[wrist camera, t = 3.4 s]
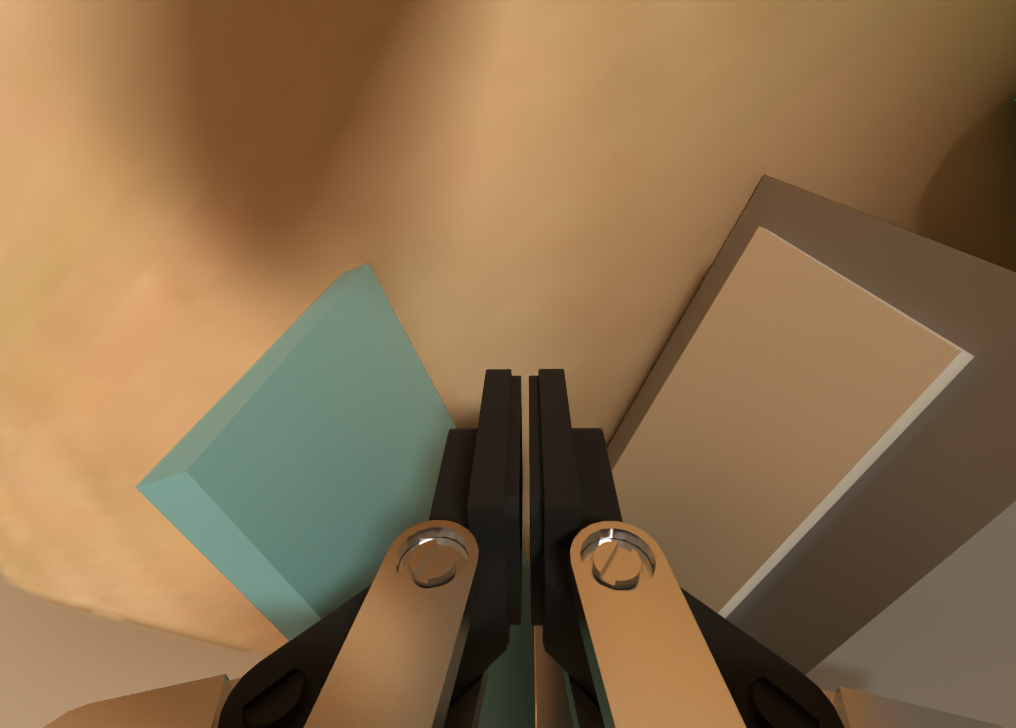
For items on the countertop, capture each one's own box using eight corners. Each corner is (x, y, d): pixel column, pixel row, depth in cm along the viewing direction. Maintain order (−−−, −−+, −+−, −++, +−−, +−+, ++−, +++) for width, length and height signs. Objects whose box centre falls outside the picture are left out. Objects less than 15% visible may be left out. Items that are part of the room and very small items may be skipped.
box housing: (757, 171, 12) (1186, 338, 4) (1113, 314, 14) (1916, 632, 6) (530, 571, 20) (532, 893, 12) (773, 634, 21) (917, 955, 13)
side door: (533, 570, 19) (536, 853, 12) (513, 574, 19) (506, 856, 12) (368, 263, 13) (186, 471, 6) (342, 273, 13) (135, 486, 6)
